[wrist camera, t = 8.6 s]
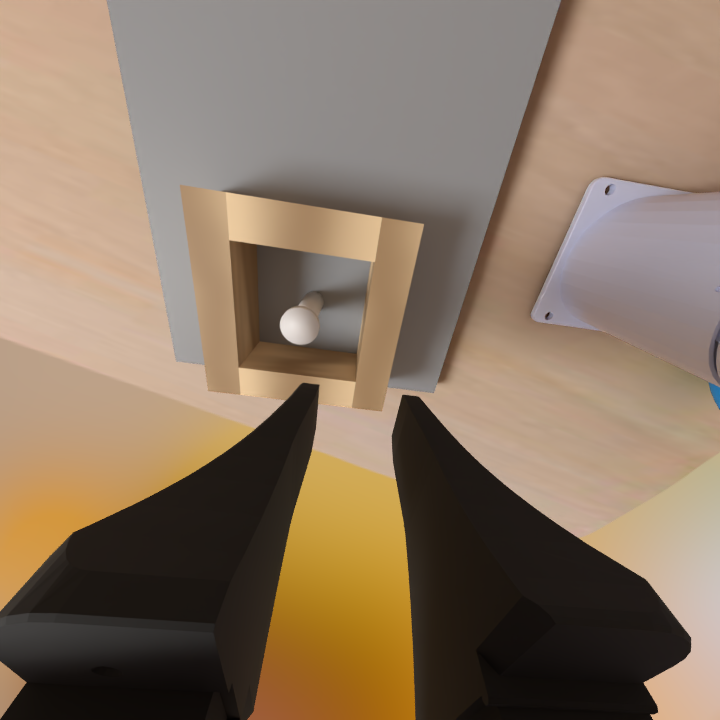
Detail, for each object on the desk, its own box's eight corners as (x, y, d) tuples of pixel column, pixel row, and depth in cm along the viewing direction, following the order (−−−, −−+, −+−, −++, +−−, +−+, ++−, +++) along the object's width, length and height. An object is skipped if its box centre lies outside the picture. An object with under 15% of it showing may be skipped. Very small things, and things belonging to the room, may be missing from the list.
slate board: (576, -89, 11) (763, -350, 6) (430, 383, 21) (451, 436, 16) (90, -207, 10) (-200, -659, 5) (186, 353, 20) (127, 399, 15)
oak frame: (410, 222, 15) (424, 224, 12) (378, 379, 19) (382, 411, 16) (219, 191, 14) (179, 184, 11) (233, 361, 19) (208, 391, 16)
